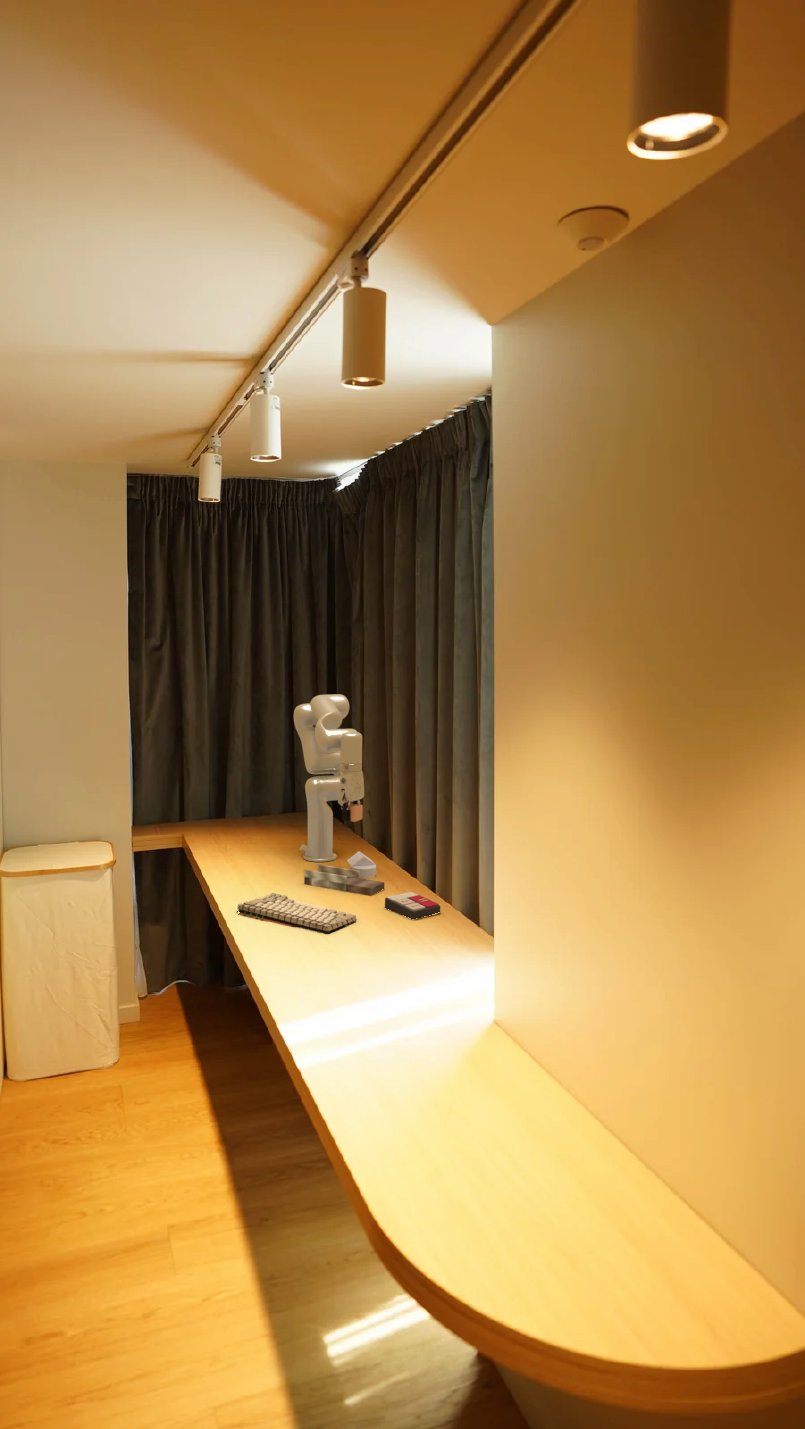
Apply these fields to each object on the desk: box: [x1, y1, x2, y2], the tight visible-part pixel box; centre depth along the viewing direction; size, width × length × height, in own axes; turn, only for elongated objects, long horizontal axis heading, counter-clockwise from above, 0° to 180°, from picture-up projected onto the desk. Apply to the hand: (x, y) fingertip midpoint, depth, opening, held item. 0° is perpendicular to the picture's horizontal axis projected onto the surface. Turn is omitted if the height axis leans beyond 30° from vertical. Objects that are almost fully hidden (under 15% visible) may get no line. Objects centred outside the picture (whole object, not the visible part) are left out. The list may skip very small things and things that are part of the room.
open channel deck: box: [303, 864, 385, 896], centre depth 330 cm, size 27×9×5 cm, turn 61°
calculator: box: [384, 891, 441, 920], centre depth 304 cm, size 11×4×15 cm
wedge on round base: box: [346, 850, 377, 879], centre depth 347 cm, size 9×7×13 cm
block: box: [349, 802, 364, 823], centre depth 336 cm, size 5×5×5 cm
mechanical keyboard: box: [236, 892, 358, 935], centre depth 298 cm, size 38×19×3 cm, turn 57°
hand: (350, 818), depth 336 cm, fingers closed on block, 5 cm apart
